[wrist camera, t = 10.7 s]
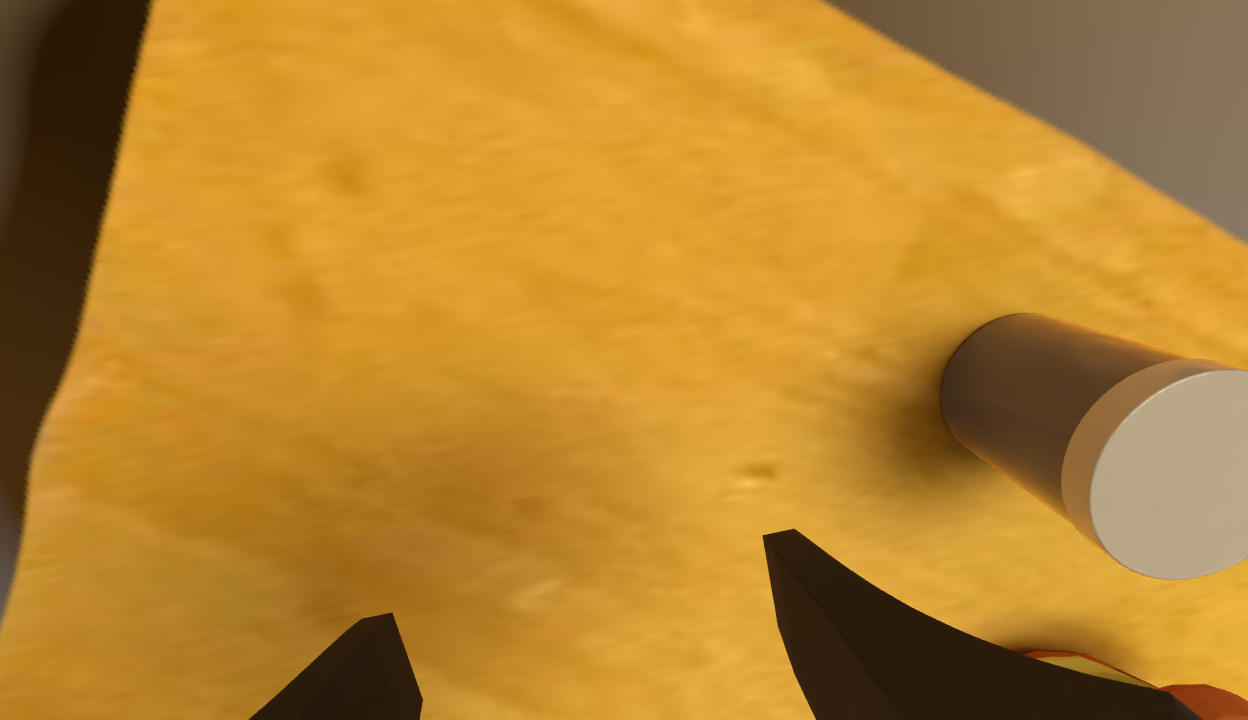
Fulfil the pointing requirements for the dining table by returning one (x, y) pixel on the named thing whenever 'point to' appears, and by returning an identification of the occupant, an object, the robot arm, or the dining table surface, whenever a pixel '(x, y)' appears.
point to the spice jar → (1111, 438)
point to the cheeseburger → (1218, 708)
